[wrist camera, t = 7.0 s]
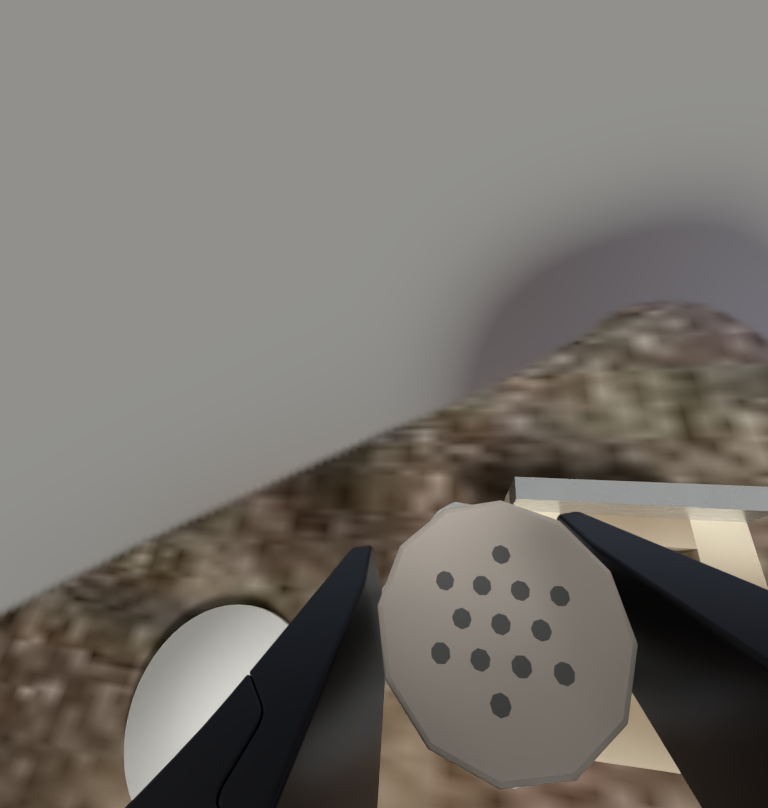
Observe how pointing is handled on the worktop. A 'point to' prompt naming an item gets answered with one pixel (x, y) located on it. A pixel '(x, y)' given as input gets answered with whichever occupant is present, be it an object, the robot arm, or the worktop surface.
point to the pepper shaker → (507, 644)
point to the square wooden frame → (669, 527)
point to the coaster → (192, 684)
